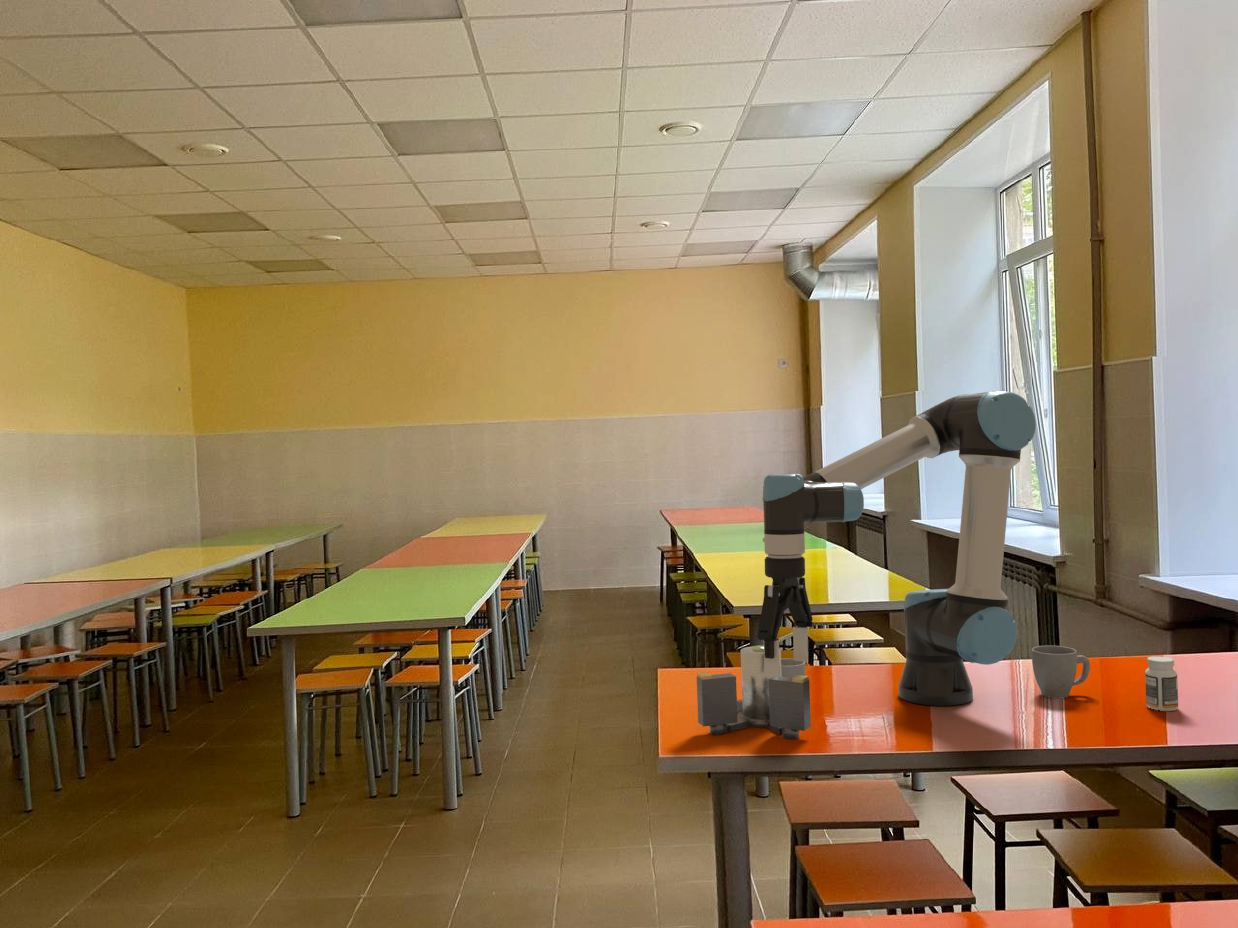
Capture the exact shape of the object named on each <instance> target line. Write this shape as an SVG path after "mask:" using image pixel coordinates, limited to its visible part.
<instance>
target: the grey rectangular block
mask: <svg viewBox="0 0 1238 928" xmlns="http://www.w3.org/2000/svg"><path fill="white" fill-rule="evenodd" d="M768 680H769V709H770V726H772V727H779V728H782V734H781V736H782V739H785V740H797V739H799V738H800V731H802V732H805V731H806V730H807V731H808V729H810V728H811V726H812V721H811V696H810V695H811V694H810V688H811V687H810V676H809V675H805V676H803V675H798V676H796V677H794V678H792V677H782V676H773V677H772V678H770V679H768Z"/></svg>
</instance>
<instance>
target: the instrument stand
mask: <svg viewBox="0 0 1238 928" xmlns="http://www.w3.org/2000/svg"><path fill="white" fill-rule="evenodd" d="M781 659H782V649H780V648H779V668H780V676H782V673H781ZM740 665H741V666H740V671H741V672H740V674H741V675H740V676H741V698H742V699H737V719H738V723H731V724H726V732H735V731H739V730H742V729H745V728H749V727H750V728H751V727H752V728H768V729H770V730H772V731H773V732H775V733H777V734H778V735H782V728H779V727H772V726H770V709H769V680H768V679H770V678H772V677H773V676H770V675H764V645H753V646H746V647H743V648H741V649H740Z"/></svg>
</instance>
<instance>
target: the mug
mask: <svg viewBox="0 0 1238 928" xmlns="http://www.w3.org/2000/svg"><path fill="white" fill-rule="evenodd" d="M1031 662H1032V669H1033V674H1034V678H1035V681H1036V684H1037V686H1038V687H1039V690H1040V693H1041V696H1042V697H1043V696H1044V697H1046V698H1050V699H1051V698H1052V699H1066V698H1068V697H1070V694H1071V691H1072V688H1073V687H1074V686H1078V685H1081V684H1083V683H1084V682H1086V680H1087V678H1088V677H1089V674H1090V671H1091V663H1090V660H1089V658H1088V657H1087V656H1085V655H1082V654H1079V655H1078V652H1077V650H1076V649H1075V648H1072V647H1068V646H1063V645H1062V646H1061V645H1037V646H1034V647H1032V648H1031ZM1078 664H1082V670H1081V673H1080V675H1079V676H1078V677H1077V679H1076V675H1077V670H1078Z"/></svg>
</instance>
